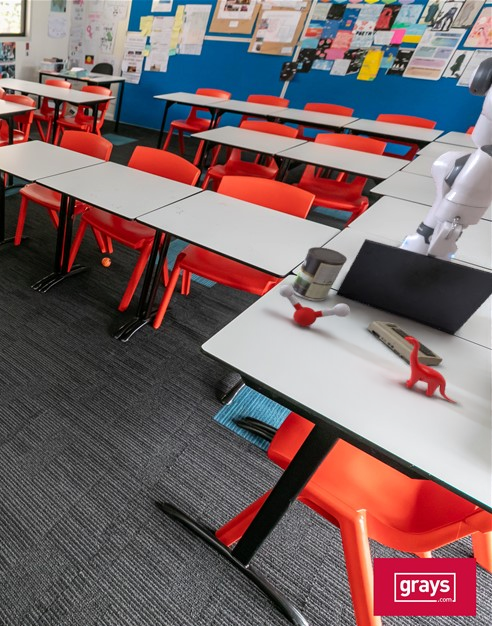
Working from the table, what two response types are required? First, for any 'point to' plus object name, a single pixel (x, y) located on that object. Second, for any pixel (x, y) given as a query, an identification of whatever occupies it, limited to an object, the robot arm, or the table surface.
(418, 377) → the dinosaur
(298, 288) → the coffee can
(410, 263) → the laptop screen
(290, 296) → the molecular model
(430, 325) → the laptop
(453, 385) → the table surface
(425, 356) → the computer
